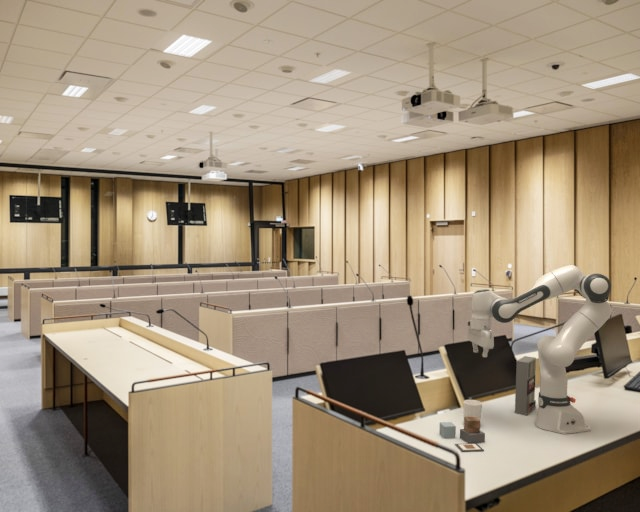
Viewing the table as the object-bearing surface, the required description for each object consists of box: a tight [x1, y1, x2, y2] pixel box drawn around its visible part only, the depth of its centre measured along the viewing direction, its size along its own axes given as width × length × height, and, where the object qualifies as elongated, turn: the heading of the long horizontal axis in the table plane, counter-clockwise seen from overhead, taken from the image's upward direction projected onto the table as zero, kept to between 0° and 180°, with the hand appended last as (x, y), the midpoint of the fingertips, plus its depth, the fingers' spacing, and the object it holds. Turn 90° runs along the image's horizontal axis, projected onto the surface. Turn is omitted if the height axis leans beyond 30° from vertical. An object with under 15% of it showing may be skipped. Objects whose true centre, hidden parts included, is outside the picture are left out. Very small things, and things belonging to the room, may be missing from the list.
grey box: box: [514, 355, 537, 416], centre depth 252 cm, size 14×6×25 cm, turn 143°
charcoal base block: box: [459, 428, 486, 444], centre depth 214 cm, size 7×7×4 cm
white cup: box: [462, 399, 483, 421], centre depth 232 cm, size 8×8×10 cm
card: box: [454, 443, 485, 453], centre depth 206 cm, size 9×7×1 cm
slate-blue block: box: [439, 421, 457, 439], centre depth 218 cm, size 5×5×5 cm
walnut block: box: [463, 416, 481, 433], centre depth 215 cm, size 5×5×5 cm
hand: (480, 354), depth 241 cm, fingers open, 8 cm apart
